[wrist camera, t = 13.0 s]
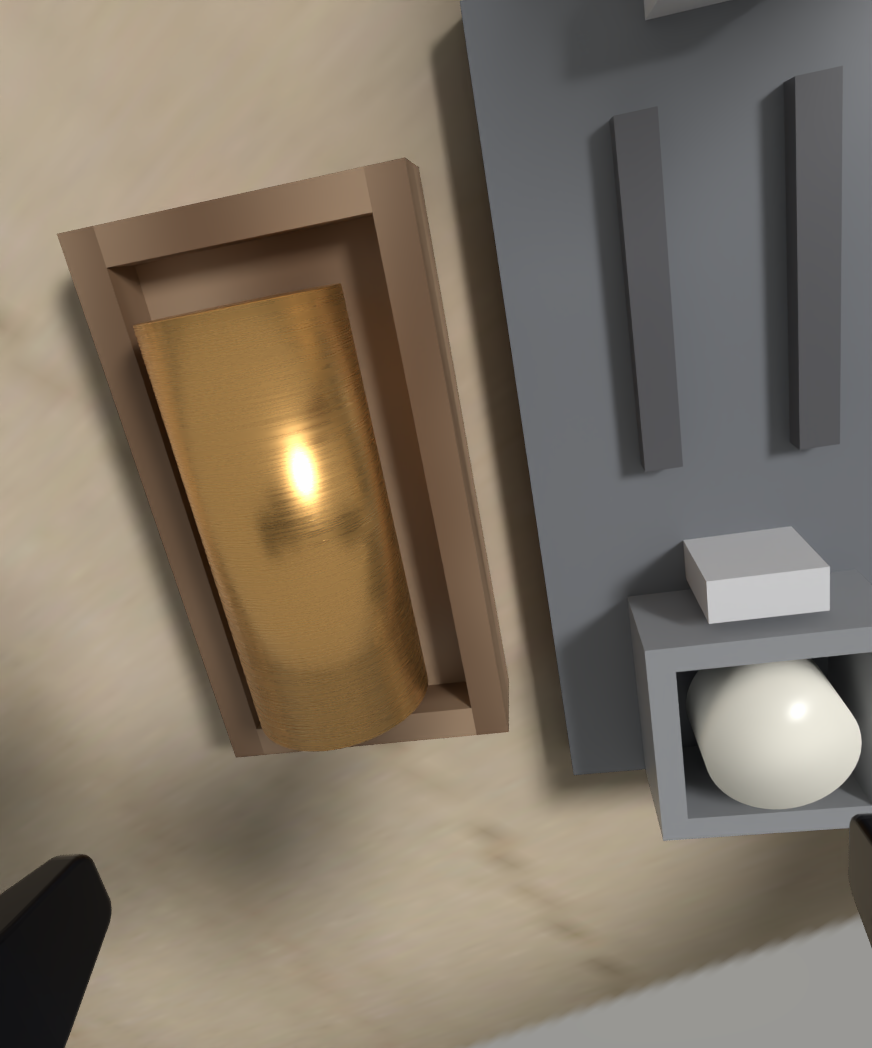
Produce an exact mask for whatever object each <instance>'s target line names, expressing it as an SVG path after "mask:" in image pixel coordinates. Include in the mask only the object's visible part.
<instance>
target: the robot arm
mask: <svg viewBox="0 0 872 1048" xmlns="http://www.w3.org/2000/svg"><path fill="white" fill-rule="evenodd" d="M848 875H849V882H850V887H851V891H852V894H853V897H854V900H855V903H856V906H857V908H858V911H859V914H860V917H861V919H862V922H863V925H864V927H865V930H866V933H867V936H868V939H869V941H870V944H871V947H872V813H864V814H856V815H854V816H853V817H852V818H851V821H850V824H849V861H848ZM110 918H111V901H110V898H109V896H108V893H107V891H106V889H105V887H104V884H103V882H102V880H101V878H100V875H99V873H98V871H97V868H96V866H95V864H94V862H93V860H92V859H91V858H90V857H89V856H87V855H84V854H76V855H60V856H56V857H54V858H52V859H50V860H49V861H47V862H46V863H44V864H43V865H41V866H40V867H39V868H37V869H36V870H34V871H33V872H32V873H30V874H29V875H27V876H26V877H25V878H23V879H22V880H20V881H19V882H17V883H16V884H15V885H13V886H12V887H10V888H9V889H8V890H6V891H5V892H3V893H2V894H1V895H0V1048H65V1045H66V1043H67V1040H68V1037H69V1035H70V1032H71V1030H72V1027H73V1024H74V1021H75V1018H76V1016H77V1013H78V1010H79V1007H80V1004H81V1002H82V999H83V996H84V993H85V990H86V988H87V985H88V982H89V979H90V976H91V974H92V971H93V968H94V965H95V962H96V960H97V957H98V954H99V951H100V948H101V946H102V943H103V940H104V937H105V934H106V932H107V929H108V926H109V923H110Z"/></svg>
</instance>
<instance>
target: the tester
mask: <svg viewBox="0 0 872 1048" xmlns="http://www.w3.org/2000/svg"><path fill="white" fill-rule="evenodd" d="M460 6H461V13H462V19H463V26H464V33H465V40H466V47H467V53H468V60H469V67H470V74H471V80H472V87H473V94H474V101H475V108H476V114H477V121H478V128H479V135H480V142H481V148H482V155H483V162H484V169H485V176H486V182H487V189H488V196H489V203H490V209H491V216H492V223H493V230H494V237H495V243H496V250H497V257H498V264H499V271H500V277H501V284H502V291H503V298H504V305H505V311H506V318H507V325H508V332H509V338H510V345H511V352H512V359H513V366H514V372H515V379H516V386H517V393H518V400H519V406H520V413H521V420H522V427H523V434H524V440H525V447H526V454H527V461H528V467H529V474H530V481H531V488H532V495H533V501H534V508H535V515H536V522H537V529H538V535H539V542H540V549H541V556H542V562H543V569H544V576H545V583H546V590H547V596H548V603H549V610H550V617H551V624H552V630H553V637H554V644H555V651H556V658H557V664H558V671H559V678H560V685H561V691H562V698H563V705H564V712H565V719H566V725H567V732H568V739H569V746H570V753H571V759H572V766H573V773H574V775H581V774H593V773H605V772H617V771H629V770H641V769H646V773H647V777H648V781H649V785H650V789H651V793H652V797H653V801H654V805H655V809H656V813H657V817H658V821H659V825H660V829H661V833H662V837H663V841H666V840H681V839H695V838H710V837H724V836H739V835H754V834H768V833H783V832H797V831H812V830H827V829H841V828H849V824H850V821H851V818H852V817H853V816H854V815H856V814H864V813H872V0H462V1H460ZM809 658H811V659H812V660H813V661H814V662H815V663H816V664H817V665H818V667H819V668H820V670H821V671H822V672H823V674H824V675H825V677H826V678H827V679H828V681H829V682H830V684H831V685H832V686H833V688H834V689H835V691H836V692H837V694H838V695H839V696H840V698H841V699H842V701H843V702H844V703H845V705H846V706H847V708H848V709H849V711H850V712H851V713H852V715H853V716H854V718H855V719H856V721H857V724H858V726H859V729H860V733H861V741H862V745H861V753H860V756H859V760H858V762H857V764H856V767H855V768H854V770H853V772H852V773H851V775H850V776H849V777H848V778H847V779H846V781H845V782H844V783H843V784H842V785H841V786H839V787H838V788H837V789H836V790H834V791H833V792H832V793H830V794H829V795H827V796H825V797H823V798H822V799H820V800H817V801H815V802H813V803H810V804H807V805H804V806H800V807H795V808H789V809H763V808H757V807H753V806H749V805H746V804H743V803H741V802H738V801H736V800H735V799H733V798H731V797H729V796H728V795H727V794H725V793H724V792H723V791H722V790H721V789H720V788H719V787H718V786H717V785H716V784H715V783H714V781H713V780H712V779H711V777H710V775H709V773H708V771H707V768H706V765H705V762H704V760H703V757H702V754H701V751H700V749H699V746H698V743H697V740H696V738H695V735H694V732H693V729H692V727H691V724H690V721H689V718H688V715H687V709H686V698H687V692H688V689H689V686H690V684H691V682H692V680H693V678H694V677H695V675H696V674H697V672H698V671H699V670H701V669H711V668H721V667H731V666H740V665H750V664H760V663H770V662H779V661H789V660H799V659H809Z"/></svg>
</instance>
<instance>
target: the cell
mask: <svg viewBox="0 0 872 1048" xmlns="http://www.w3.org/2000/svg"><path fill="white" fill-rule="evenodd" d="M133 328H134V332H135V335H136V338H137V341H138V344H139V347H140V350H141V353H142V356H143V360H144V363H145V366H146V369H147V372H148V375H149V378H150V381H151V384H152V388H153V391H154V394H155V397H156V400H157V403H158V406H159V409H160V412H161V416H162V419H163V422H164V425H165V428H166V431H167V434H168V437H169V440H170V444H171V447H172V450H173V453H174V456H175V459H176V462H177V465H178V469H179V472H180V475H181V478H182V481H183V484H184V487H185V490H186V493H187V497H188V500H189V503H190V506H191V509H192V512H193V515H194V518H195V521H196V525H197V528H198V531H199V534H200V537H201V540H202V543H203V546H204V549H205V553H206V556H207V559H208V562H209V565H210V568H211V571H212V574H213V577H214V581H215V584H216V587H217V590H218V593H219V596H220V599H221V602H222V605H223V609H224V612H225V615H226V618H227V621H228V624H229V627H230V630H231V633H232V637H233V640H234V643H235V646H236V649H237V652H238V655H239V658H240V661H241V665H242V668H243V671H244V674H245V677H246V680H247V683H248V686H249V689H250V693H251V696H252V699H253V702H254V705H255V708H256V711H257V714H258V717H259V721H260V724H261V727H262V730H263V731H264V733H265V735H266V736H267V737H268V738H269V739H270V740H272V741H273V742H274V743H276V744H278V745H280V746H283V747H285V748H289V749H293V750H299V751H313V752H314V751H328V750H335V749H341V748H345V747H350V746H353V745H356V744H360V743H363V742H365V741H368V740H370V739H373V738H375V737H377V736H379V735H381V734H383V733H385V732H387V731H389V730H390V729H392V728H394V727H395V726H397V725H398V724H400V723H401V722H402V721H404V720H405V719H406V718H407V717H408V716H410V715H411V714H412V713H413V712H414V711H415V709H416V708H417V707H418V706H419V705H420V703H421V702H422V700H423V698H424V696H425V694H426V692H427V688H428V675H427V671H426V666H425V662H424V657H423V652H422V648H421V643H420V639H419V634H418V630H417V625H416V621H415V616H414V612H413V607H412V602H411V598H410V593H409V589H408V584H407V580H406V575H405V571H404V566H403V562H402V557H401V553H400V548H399V543H398V539H397V534H396V530H395V525H394V521H393V516H392V512H391V507H390V503H389V498H388V493H387V489H386V484H385V480H384V475H383V471H382V466H381V462H380V457H379V453H378V448H377V444H376V439H375V434H374V430H373V425H372V421H371V416H370V412H369V407H368V403H367V398H366V394H365V389H364V384H363V380H362V375H361V371H360V366H359V362H358V357H357V353H356V348H355V344H354V339H353V335H352V330H351V325H350V321H349V316H348V312H347V307H346V303H345V298H344V294H343V289H342V285H341V283H338V284H331V285H325V286H319V287H313V288H308V289H302V290H297V291H292V292H287V293H281V294H276V295H271V296H266V297H261V298H256V299H251V300H246V301H241V302H236V303H231V304H226V305H221V306H216V307H212V308H207V309H202V310H197V311H193V312H188V313H183V314H179V315H174V316H170V317H165V318H161V319H156V320H152V321H148V322H144V323H140V324H136V325H133Z"/></svg>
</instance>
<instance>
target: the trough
mask: <svg viewBox="0 0 872 1048" xmlns="http://www.w3.org/2000/svg"><path fill="white" fill-rule="evenodd" d="M57 236H58V239H59V241H60V244H61V247H62V250H63V253H64V256H65V259H66V262H67V265H68V268H69V271H70V274H71V277H72V279H73V282H74V285H75V288H76V291H77V294H78V297H79V300H80V303H81V306H82V309H83V312H84V315H85V318H86V320H87V323H88V326H89V329H90V332H91V335H92V338H93V341H94V344H95V347H96V350H97V353H98V356H99V358H100V361H101V364H102V367H103V370H104V373H105V376H106V379H107V382H108V385H109V388H110V391H111V394H112V396H113V399H114V402H115V405H116V408H117V411H118V414H119V417H120V420H121V423H122V426H123V429H124V432H125V434H126V437H127V440H128V443H129V446H130V449H131V452H132V455H133V458H134V461H135V464H136V467H137V470H138V472H139V475H140V478H141V481H142V484H143V487H144V490H145V493H146V496H147V499H148V502H149V505H150V508H151V510H152V513H153V516H154V519H155V522H156V525H157V528H158V531H159V534H160V537H161V540H162V543H163V546H164V548H165V551H166V554H167V557H168V560H169V563H170V566H171V569H172V572H173V575H174V578H175V581H176V584H177V586H178V589H179V592H180V595H181V598H182V601H183V604H184V607H185V610H186V613H187V616H188V619H189V622H190V624H191V627H192V630H193V633H194V636H195V639H196V642H197V645H198V648H199V651H200V654H201V657H202V660H203V662H204V665H205V668H206V671H207V674H208V677H209V680H210V683H211V686H212V689H213V692H214V695H215V698H216V700H217V703H218V706H219V709H220V712H221V715H222V718H223V721H224V724H225V727H226V730H227V733H228V736H229V738H230V741H231V744H232V747H233V750H234V753H235V756H236V757H246V756H257V755H267V754H278V753H289V752H299V750H293V749H289V748H285V747H283V746H280V745H278V744H276V743H274V742H273V741H272V740H270V739H269V738H268V737H267V736H266V735H265V733H264V731H263V730H262V727H261V724H260V721H259V717H258V714H257V711H256V708H255V705H254V702H253V699H252V696H251V693H250V689H249V686H248V683H247V680H246V677H245V674H244V671H243V668H242V665H241V661H240V658H239V655H238V652H237V649H236V646H235V643H234V640H233V637H232V633H231V630H230V627H229V624H228V621H227V618H226V615H225V612H224V609H223V605H222V602H221V599H220V596H219V593H218V590H217V587H216V584H215V581H214V577H213V574H212V571H211V568H210V565H209V562H208V559H207V556H206V553H205V549H204V546H203V543H202V540H201V537H200V534H199V531H198V528H197V525H196V521H195V518H194V515H193V512H192V509H191V506H190V503H189V500H188V497H187V493H186V490H185V487H184V484H183V481H182V478H181V475H180V472H179V469H178V465H177V462H176V459H175V456H174V453H173V450H172V447H171V444H170V440H169V437H168V434H167V431H166V428H165V425H164V422H163V419H162V416H161V412H160V409H159V406H158V403H157V400H156V397H155V394H154V391H153V388H152V384H151V381H150V378H149V375H148V372H147V369H146V366H145V363H144V360H143V356H142V353H141V350H140V347H139V344H138V341H137V338H136V335H135V332H134V328H133V325H136V324H140V323H144V322H148V321H152V320H156V319H161V318H165V317H170V316H174V315H179V314H183V313H188V312H193V311H197V310H202V309H207V308H212V307H216V306H221V305H226V304H231V303H236V302H241V301H246V300H251V299H256V298H261V297H266V296H271V295H276V294H281V293H287V292H292V291H297V290H302V289H308V288H313V287H319V286H325V285H331V284H338V283H341V285H342V289H343V294H344V298H345V303H346V307H347V312H348V316H349V321H350V325H351V330H352V335H353V339H354V344H355V348H356V353H357V357H358V362H359V366H360V371H361V375H362V380H363V384H364V389H365V394H366V398H367V403H368V407H369V412H370V416H371V421H372V425H373V430H374V434H375V439H376V444H377V448H378V453H379V457H380V462H381V466H382V471H383V475H384V480H385V484H386V489H387V493H388V498H389V503H390V507H391V512H392V516H393V521H394V525H395V530H396V534H397V539H398V543H399V548H400V553H401V557H402V562H403V566H404V571H405V575H406V580H407V584H408V589H409V593H410V598H411V602H412V607H413V612H414V616H415V621H416V625H417V630H418V634H419V639H420V643H421V648H422V652H423V657H424V662H425V666H426V671H427V675H428V688H427V692H426V694H425V696H424V698H423V700H422V702H421V703H420V705H419V706H418V707H417V708H416V709H415V711H414V712H413V713H412V714H411V715H410V716H408V717H407V718H406V719H405V720H404V721H402V722H401V723H400V724H398V725H397V726H395V727H394V728H392V729H390V730H389V731H387V732H385V733H383V734H381V735H379V736H377V737H375V738H373V739H370V740H368V741H365V742H363V743H360V744H356V745H353V746H363V745H374V744H385V743H395V742H406V741H417V740H427V739H438V738H449V737H459V736H470V735H481V734H491V733H502V732H509V679H508V674H507V668H506V662H505V656H504V651H503V645H502V639H501V634H500V628H499V622H498V617H497V611H496V605H495V600H494V594H493V588H492V583H491V577H490V571H489V565H488V560H487V554H486V548H485V543H484V537H483V531H482V526H481V520H480V514H479V509H478V503H477V497H476V491H475V486H474V480H473V474H472V469H471V463H470V457H469V452H468V446H467V440H466V435H465V429H464V423H463V418H462V412H461V406H460V400H459V395H458V389H457V383H456V378H455V372H454V366H453V361H452V355H451V349H450V344H449V338H448V332H447V326H446V321H445V315H444V309H443V304H442V298H441V292H440V287H439V281H438V275H437V270H436V264H435V258H434V252H433V247H432V241H431V235H430V230H429V224H428V218H427V213H426V207H425V201H424V196H423V190H422V184H421V179H420V173H419V167H417V166H416V165H415V164H413V163H412V162H410V161H409V160H407V159H406V158H401V159H396V160H392V161H387V162H382V163H378V164H373V165H369V166H364V167H360V168H355V169H351V170H346V171H341V172H337V173H332V174H328V175H323V176H319V177H314V178H310V179H305V180H300V181H296V182H291V183H287V184H282V185H278V186H273V187H269V188H264V189H259V190H255V191H250V192H246V193H241V194H237V195H232V196H227V197H223V198H218V199H214V200H209V201H205V202H200V203H196V204H191V205H186V206H182V207H177V208H173V209H168V210H164V211H159V212H155V213H150V214H145V215H141V216H136V217H132V218H127V219H123V220H118V221H114V222H109V223H104V224H100V225H95V226H91V227H86V228H82V229H77V230H73V231H68V232H63V233H59V234H57ZM353 746H350V747H353Z"/></svg>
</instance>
